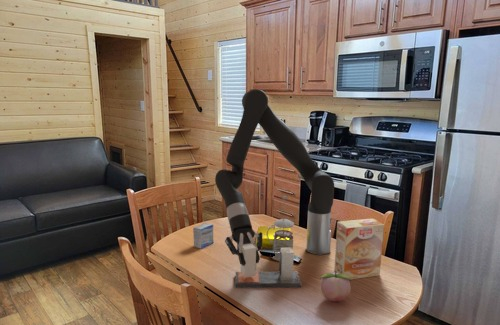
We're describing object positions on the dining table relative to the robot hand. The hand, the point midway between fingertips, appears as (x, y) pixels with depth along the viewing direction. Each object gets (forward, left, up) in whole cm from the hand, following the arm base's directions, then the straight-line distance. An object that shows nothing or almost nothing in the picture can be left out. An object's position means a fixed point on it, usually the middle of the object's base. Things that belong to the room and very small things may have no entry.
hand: (250, 263), depth 118 cm
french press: (-13, -22, -8) cm, 26 cm away
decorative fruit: (-26, +10, -8) cm, 29 cm away
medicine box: (+19, -33, -8) cm, 39 cm away
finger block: (+1, -2, -5) cm, 5 cm away
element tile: (-12, -37, -8) cm, 40 cm away
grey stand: (-6, -2, -7) cm, 10 cm away
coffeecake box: (-39, -7, -8) cm, 40 cm away
